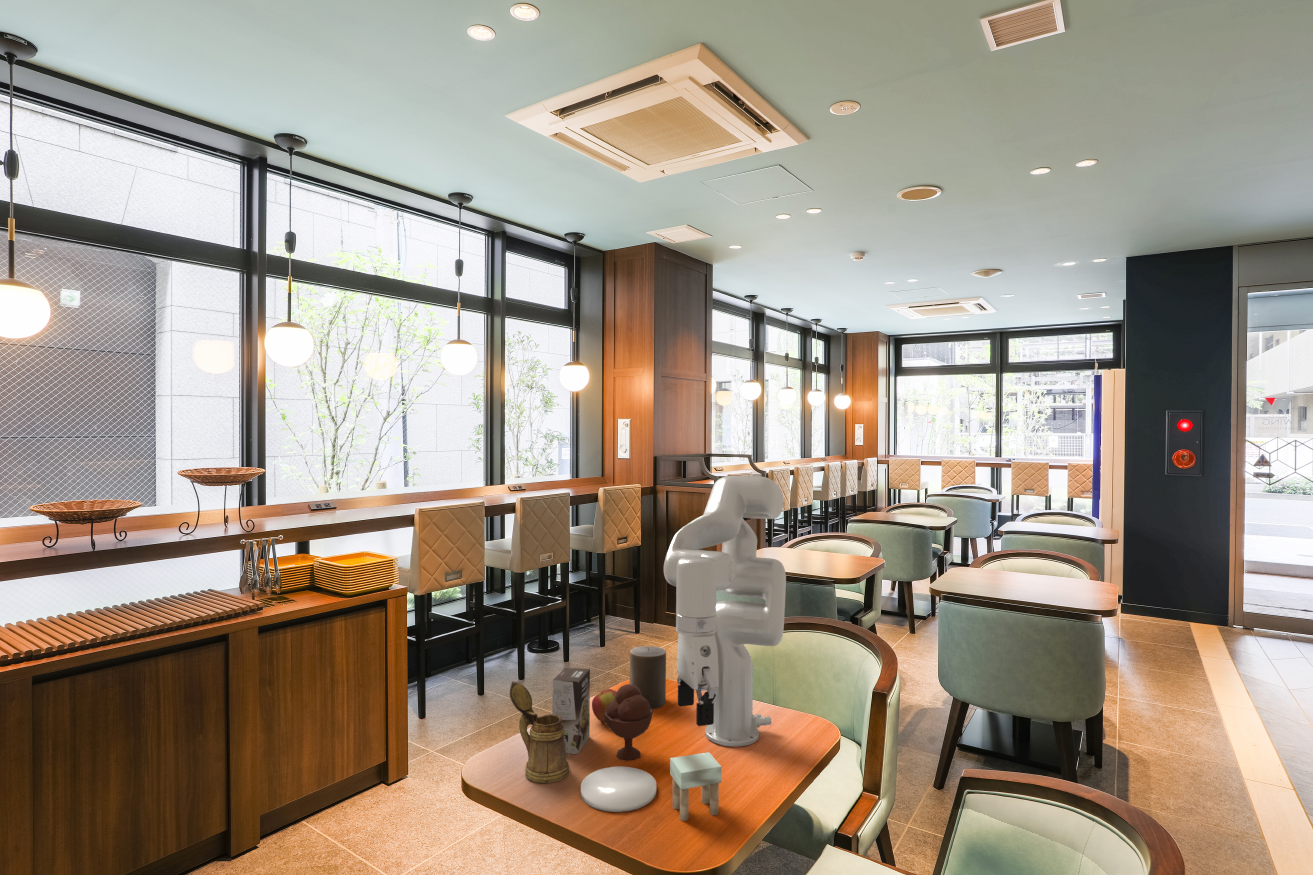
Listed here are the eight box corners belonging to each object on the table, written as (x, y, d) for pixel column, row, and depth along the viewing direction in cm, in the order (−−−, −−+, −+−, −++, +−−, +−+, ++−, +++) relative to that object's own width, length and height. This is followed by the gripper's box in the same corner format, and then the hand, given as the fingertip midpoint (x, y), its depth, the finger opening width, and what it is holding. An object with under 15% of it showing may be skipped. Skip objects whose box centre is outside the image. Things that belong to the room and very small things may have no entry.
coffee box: (578, 754, 149) (578, 681, 149) (551, 751, 150) (551, 679, 150) (590, 736, 158) (591, 668, 158) (564, 734, 159) (565, 666, 159)
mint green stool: (708, 798, 131) (708, 751, 131) (721, 814, 125) (721, 766, 125) (669, 804, 128) (670, 757, 128) (680, 822, 123) (681, 772, 123)
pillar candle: (653, 712, 172) (654, 653, 172) (621, 704, 177) (622, 647, 177) (672, 700, 180) (673, 644, 180) (641, 693, 185) (642, 638, 185)
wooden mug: (522, 755, 148) (522, 674, 148) (576, 767, 143) (577, 682, 143) (498, 774, 140) (499, 687, 140) (555, 787, 135) (556, 697, 135)
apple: (609, 713, 171) (609, 681, 171) (630, 722, 166) (631, 690, 166) (586, 721, 166) (586, 689, 166) (607, 732, 160) (608, 698, 160)
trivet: (643, 767, 143) (643, 761, 143) (666, 804, 129) (666, 797, 129) (573, 778, 138) (573, 772, 138) (589, 817, 124) (589, 811, 124)
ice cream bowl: (593, 755, 148) (593, 687, 148) (629, 739, 156) (629, 674, 156) (627, 772, 141) (627, 700, 141) (663, 753, 149) (663, 686, 149)
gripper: (733, 633, 120) (732, 730, 119) (697, 611, 136) (696, 696, 136) (694, 636, 117) (693, 735, 117) (662, 613, 134) (661, 700, 133)
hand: (695, 714), depth 126 cm, fingers open, 9 cm apart
